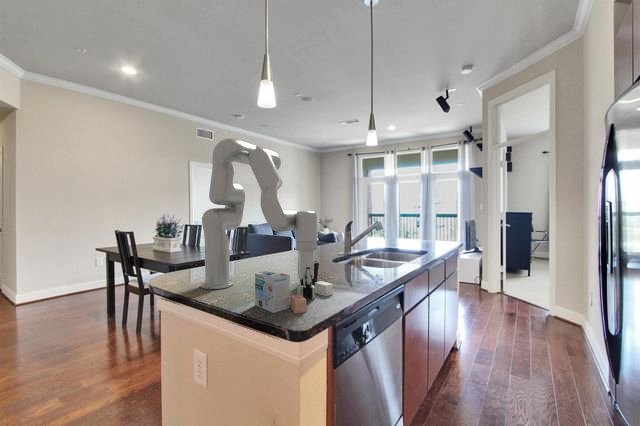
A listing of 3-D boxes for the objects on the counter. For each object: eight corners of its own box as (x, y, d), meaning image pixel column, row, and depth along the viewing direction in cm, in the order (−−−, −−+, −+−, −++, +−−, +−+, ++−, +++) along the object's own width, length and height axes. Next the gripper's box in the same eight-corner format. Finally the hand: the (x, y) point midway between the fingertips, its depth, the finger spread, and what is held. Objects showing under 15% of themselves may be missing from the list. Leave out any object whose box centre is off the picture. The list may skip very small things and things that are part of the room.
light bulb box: (254, 305, 101) (254, 272, 101) (271, 300, 106) (271, 269, 106) (273, 313, 94) (273, 278, 93) (290, 308, 98) (290, 274, 98)
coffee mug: (318, 288, 121) (318, 263, 121) (297, 288, 121) (297, 263, 121) (319, 281, 132) (319, 258, 132) (299, 281, 133) (299, 258, 132)
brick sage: (298, 299, 107) (298, 288, 107) (297, 296, 111) (297, 285, 111) (315, 299, 108) (315, 287, 108) (314, 296, 112) (314, 285, 112)
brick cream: (314, 293, 116) (314, 282, 115) (321, 291, 118) (321, 281, 118) (325, 296, 111) (325, 285, 111) (332, 294, 114) (332, 284, 113)
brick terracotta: (290, 307, 99) (290, 295, 99) (300, 306, 100) (300, 294, 100) (295, 313, 94) (295, 300, 94) (306, 312, 95) (306, 299, 95)
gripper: (293, 243, 117) (293, 289, 117) (297, 249, 100) (297, 303, 100) (313, 242, 118) (313, 288, 119) (320, 249, 101) (320, 302, 101)
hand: (306, 295), depth 109 cm, fingers open, 7 cm apart
